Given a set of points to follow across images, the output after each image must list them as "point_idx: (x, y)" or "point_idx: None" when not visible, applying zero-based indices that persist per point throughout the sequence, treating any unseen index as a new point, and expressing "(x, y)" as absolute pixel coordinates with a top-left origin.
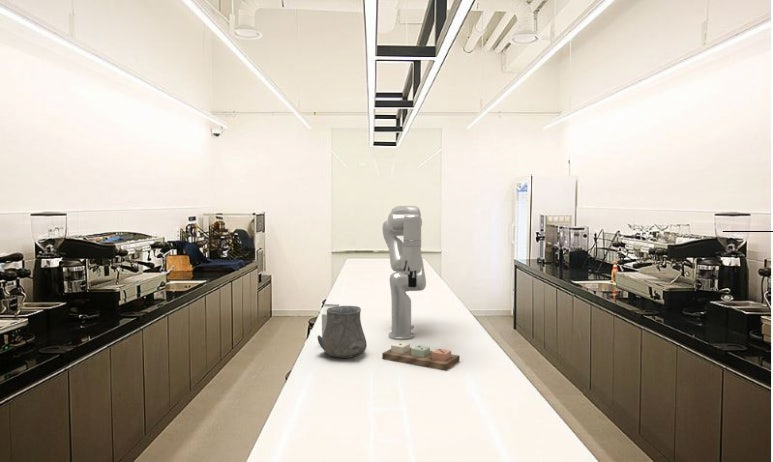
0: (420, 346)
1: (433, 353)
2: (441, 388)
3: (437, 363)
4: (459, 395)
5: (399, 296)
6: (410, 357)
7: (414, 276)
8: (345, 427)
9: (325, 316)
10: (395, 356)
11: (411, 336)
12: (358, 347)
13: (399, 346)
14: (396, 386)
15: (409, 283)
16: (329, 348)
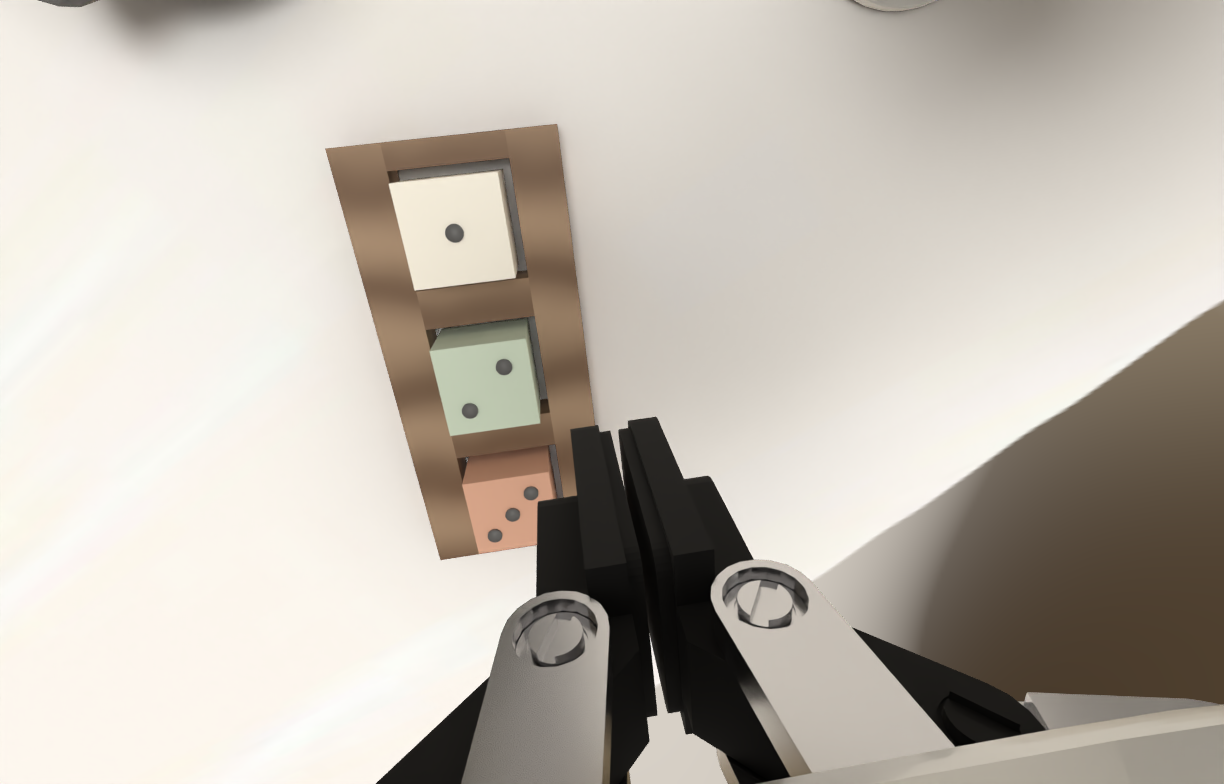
0: (513, 370)
1: (465, 490)
2: (249, 632)
3: (430, 518)
4: (249, 704)
5: None
6: (397, 362)
7: (629, 781)
8: None
9: None
10: (358, 261)
11: (889, 7)
12: (75, 6)
13: (412, 255)
14: (85, 497)
15: (537, 527)
16: None
